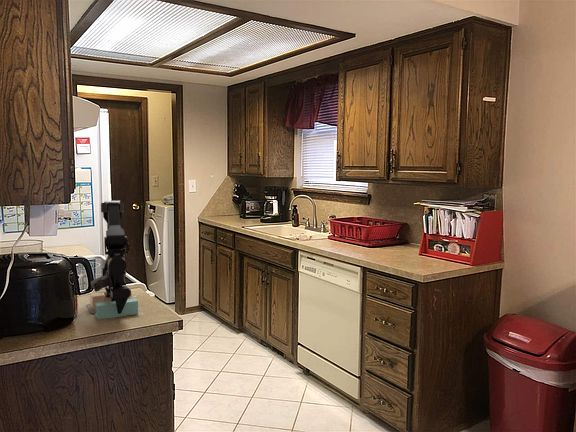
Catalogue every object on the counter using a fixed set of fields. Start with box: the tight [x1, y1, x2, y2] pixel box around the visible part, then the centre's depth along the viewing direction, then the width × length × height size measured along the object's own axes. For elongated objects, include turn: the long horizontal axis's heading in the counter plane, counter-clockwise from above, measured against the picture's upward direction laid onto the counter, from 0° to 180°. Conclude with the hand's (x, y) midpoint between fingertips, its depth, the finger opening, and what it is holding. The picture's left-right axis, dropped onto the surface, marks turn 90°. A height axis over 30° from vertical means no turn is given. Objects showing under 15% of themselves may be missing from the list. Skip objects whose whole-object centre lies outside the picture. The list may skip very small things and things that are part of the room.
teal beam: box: [95, 297, 139, 320], centre depth 176 cm, size 4×14×5 cm, turn 120°
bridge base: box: [86, 291, 132, 315], centre depth 185 cm, size 12×16×6 cm
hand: (117, 310), depth 176 cm, fingers open, 8 cm apart
